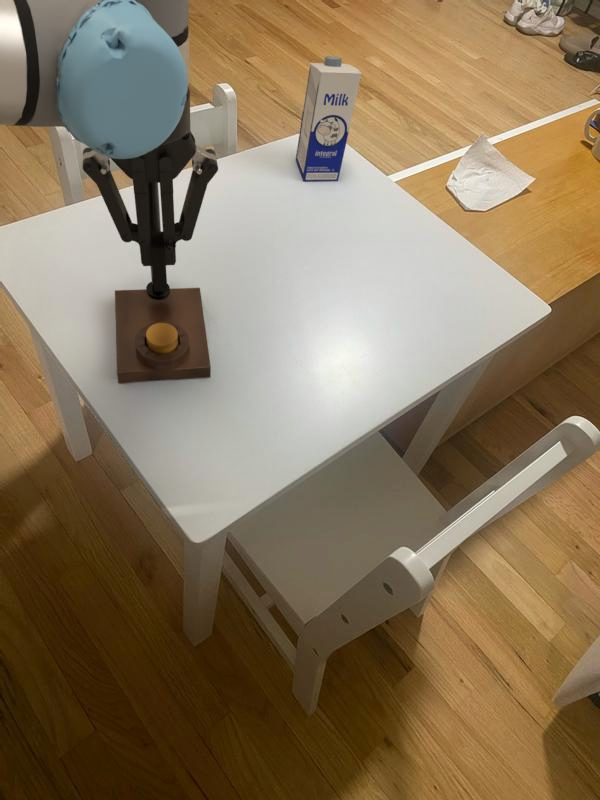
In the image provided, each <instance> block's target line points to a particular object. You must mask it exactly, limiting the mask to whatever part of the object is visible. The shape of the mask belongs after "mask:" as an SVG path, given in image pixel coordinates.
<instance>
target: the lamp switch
mask: <svg viewBox="0 0 600 800" xmlns="http://www.w3.org/2000/svg"><path fill="white" fill-rule="evenodd" d="M146 339H147V346H148V348H149V349H150V350H151V351H152V352H154V353H156V354H168V353H171V352H173V351H174V350H175V349H176V348H177V345H178V333H177V330H176V329H175V327H173V326H172V325H170V324H167V323H157V324H154V325H152V326H150V327H149V328H148V330H147V332H146Z"/></svg>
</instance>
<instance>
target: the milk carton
mask: <svg viewBox="0 0 600 800" xmlns="http://www.w3.org/2000/svg"><path fill="white" fill-rule="evenodd" d="M342 60H343V58H342V57H339V56H333V55H332V56H330V55H329V56H325V57H324V61H323V62H308V63H309V68H308V75H307V82H306V88H305V94H304V101H303V102H304V103H303V108H302V114H301V122H300V129H299V135H298V142H297V147H296V156H295V162H296V165H297V167H298V168H297V169H298V171H299V173H300V175H301V179H302V181H303V182H338V181H339V177H340V172H341V169H342V164H343V159H344V155H345V151H346V146H347V141H348V138H349V132H350V129H351V123H352V119H353V114H354V109H355V106H356V101H357V96H358V91H359V88H360V83H361V78H362V75H363V73H362V72H361V71H360V69H358V68H356V67H354V66H353V65H351V64H349V63H342Z"/></svg>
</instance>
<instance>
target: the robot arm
mask: <svg viewBox="0 0 600 800" xmlns="http://www.w3.org/2000/svg"><path fill="white" fill-rule="evenodd" d="M189 11H190V10H189V0H0V126H12V127H13V126H14V127H16V126H17V127H31V128H32V127H34V128H35V127H38V128H40V127H41V128H42V127H43V128H44V127H47V128H51V127H52V128H53V127H55V128H59V127H61V128H65V130H66V131H67V132H68V133H70V134H71V136H72V138H73V139H75V140H76V141H78V142H79V143H81V144H84V145H85V146H86V147H85V148H84V149H83V150H82V171H83V172H84V173H85V174H86V175H87V177H89V178H90V180H92V181H93V182H94V183H95V184H96V186H97V188H98V191H99V193H100V195H101V197H102V199H103V201H104V204H105V207H106V208H107V211H108V213H109V215H110V217H111V219H112V221H113V223H114V226H115V228H116V230H117V233H118V235H119V238H120V239H121V241H122V242H124V243H131V242H135V243H137V245H139V254H140V263H141V264H142V266H143V267H151V266H152V268H153V280H154V292H158V291H167V284H168V277H167V266H175V265H176V262H177V255H176V254H177V253H176V248H177V243H178V242H179V241H184V242H188V241H189V242H190V240H192V238H193V235H194V232H195V228H196V226H197V221H198V218H199V214H200V211H201V208H202V205H203V200H204V197H205V194H206V191H207V187H208V185H209V183H210V181H212V179H213V178H214V177H215V176H216V174H217V173H218V172H219V165H218V159H217V154H216V152H215V150H214V149H212V148H208V149H203V148H202V147H200V146H199V145H197V144H196V139H195V136H194V135H193V133H192V131H191V91H190V87H189V85H190V81H191V70H190V69H191V68H190V67H191V66H190V31H189V22H190V21H189V17H190V16H189V14H190V13H189ZM110 159H111V161H112V162H113V163H114V164H115V165H116V166H117V167H118V168H119V169H120V170H121V172H123V173H124V174H125V175H126V177H128V178H129V179H131V180H132V185H133V186H132V187H133V194H134V204H135V214H136V215H135V216H136V223H133V222H132V218H131V216H130V214H129V212H128V210H127V207H126V205H125V201H124V199H123V197H122V195H121V192H120V190H119V188H118V186H117V184H116V180H115V178H114V176H113V174H112V171H111V161H110ZM190 161H191V167H192V171H191V175H190V179H189V183H188V185H187V186H188V187H187V190H186V194H185V198H184V200H183V201H184V202H183V205H182V208H181V213H180V217H179V220H178V221H177V222H175V206H174V205H175V204H174V201H175V200H174V180H175V179H176V178H177V177H178V176H179V175H180V174H181V172H182V171H183V170H184V169H185V168H186V166H187V165H188V164H189V163H190ZM152 181H154V182H158V184H159V192H160V193H159V194H160V195H159V196H160V207H161V208H160V211H161V223H162V225H161V226H162V230H161V231H157V232H150V226H149V214H148V201H147V189H146V183H148V182H152Z"/></svg>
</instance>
